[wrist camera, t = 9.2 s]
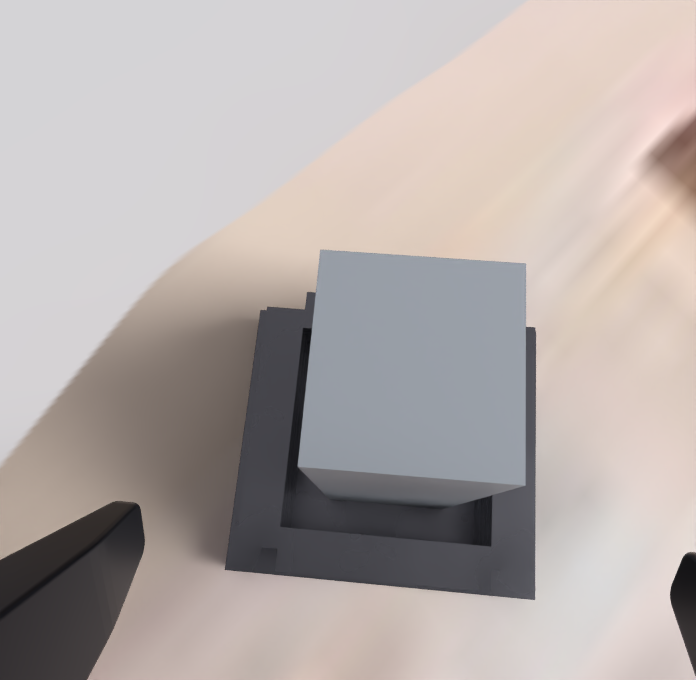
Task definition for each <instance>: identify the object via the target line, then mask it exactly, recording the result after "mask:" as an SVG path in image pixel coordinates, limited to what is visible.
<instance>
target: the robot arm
mask: <svg viewBox="0 0 696 680" xmlns="http://www.w3.org/2000/svg"><path fill="white" fill-rule="evenodd" d="M144 545H145V537H144V530H143V523H142V516H141V510H140V507H139V505H138V504H137V503H134V502H123V501H115V502H112V503H110V504H108V505H106V506H104V507H102V508H100V509H98V510H96V511H94V512H93V513H91V514H89V515H87V516H85V517H83V518H81V519H79V520H77V521H75V522H73V523H71V524H69V525H67V526H65V527H63V528H61V529H60V530H58V531H56V532H54V533H52V534H50V535H48V536H46V537H44V538H42V539H40V540H38V541H36V542H34V543H32V544H30V545H28V546H26V547H25V548H23V549H21V550H19V551H17V552H15V553H13V554H11V555H9V556H7V557H5V558H3V559H1V560H0V680H87V679H88V677H89V675H90V673H91V671H92V669H93V667H94V665H95V664H96V662H97V660H98V658H99V656H100V654H101V652H102V650H103V648H104V647H105V645H106V643H107V641H108V639H109V637H110V635H111V633H112V631H113V629H114V626H115V624H116V621H117V619H118V617H119V614H120V611H121V609H122V606H123V604H124V601H125V599H126V596H127V593H128V591H129V588H130V586H131V583H132V581H133V578H134V575H135V573H136V570H137V568H138V565H139V562H140V560H141V557H142V554H143V551H144ZM670 599H671V604H672V608H673V611H674V614H675V617H676V620H677V623H678V625H679V628H680V631H681V634H682V637H683V640H684V643H685V646H686V649H687V652H688V655H689V658H690V661H691V664H692V667H693V670H694V673H695V676H696V553H695V552H689V553H687V554H685V555H684V556H683V558H682V561H681V563H680V566H679V568H678V571H677V573H676V576H675V578H674V581H673V583H672V586H671V591H670Z"/></svg>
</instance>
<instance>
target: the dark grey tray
mask: <svg viewBox="0 0 696 680" xmlns="http://www.w3.org/2000/svg"><path fill="white" fill-rule="evenodd" d="M315 296H316V293H313V292H307V298H306V306H305V310H302V309H289V308H276V307H267V311H266V310H261V311H260V319H259V326H258V333H257V340H256V348H255V355H254V362H253V370H252V377H251V384H250V391H249V399H248V406H247V413H246V421H245V428H244V435H243V442H242V450H241V457H240V464H239V471H238V479H237V486H236V493H235V501H234V508H233V515H232V522H231V530H230V537H229V544H228V552H227V559H226V566H225V570H233V571H243V572H253V573H263V574H274V575H284V576H294V577H305V578H315V579H325V580H335V581H346V582H356V583H366V584H377V585H387V586H397V587H407V588H418V589H428V590H438V591H449V592H459V593H469V594H479V595H490V596H500V597H510V598H521V599H531V600H535V447H536V331H535V328H534V327H526V486H522V487H519V488H515V489H512V490H508V491H505V492H501V493H498V494H494V495H491V496H487V497H484V498H480V499H477V500H473V501H470V502H466V503H463V504H459V505H456V506H452V507H449V508H445V509H437V508H425V507H413V506H401V505H390V504H378V503H366V502H354V501H343V500H331V499H329V498H328V497H327V496H326V495H325V494H324V493H323V492H322V491H321V490H320V489H319V488H318V487H317V486H316V485H315V484H314V483H313V482H312V481H311V480H310V479H309V478H308V477H307V476H306V475H305V474H304V473H303V472H302V471H301V470H300V469H299V468H298V458H299V449H300V439H301V430H302V420H303V411H304V401H305V391H306V382H307V372H308V363H309V353H310V344H311V334H312V325H313V315H314V306H315Z"/></svg>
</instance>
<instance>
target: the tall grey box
mask: <svg viewBox="0 0 696 680" xmlns="http://www.w3.org/2000/svg"><path fill="white" fill-rule="evenodd" d="M298 468H299V469H300V470H301V471H302V472H303V473H304V474H305V475H306V476H307V477H308V478H309V479H310V480H311V481H312V482H313V483H314V484H315V485H316V486H317V487H318V488H319V489H320V490H321V491H322V492H323V493H324V494H325V495H326V496H327V497H328V498H329V499H331V500H343V501H354V502H366V503H378V504H390V505H401V506H413V507H425V508H437V509H445V508H449V507H452V506H456V505H459V504H463V503H466V502H470V501H473V500H477V499H480V498H484V497H487V496H491V495H494V494H498V493H501V492H505V491H508V490H512V489H515V488H519V487H522V486H526V264H524V263H509V262H495V261H480V260H465V259H450V258H436V257H421V256H406V255H391V254H377V253H362V252H347V251H332V250H320V258H319V268H318V277H317V287H316V296H315V306H314V315H313V325H312V334H311V344H310V353H309V363H308V372H307V382H306V391H305V401H304V411H303V420H302V430H301V439H300V449H299V458H298Z"/></svg>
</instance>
